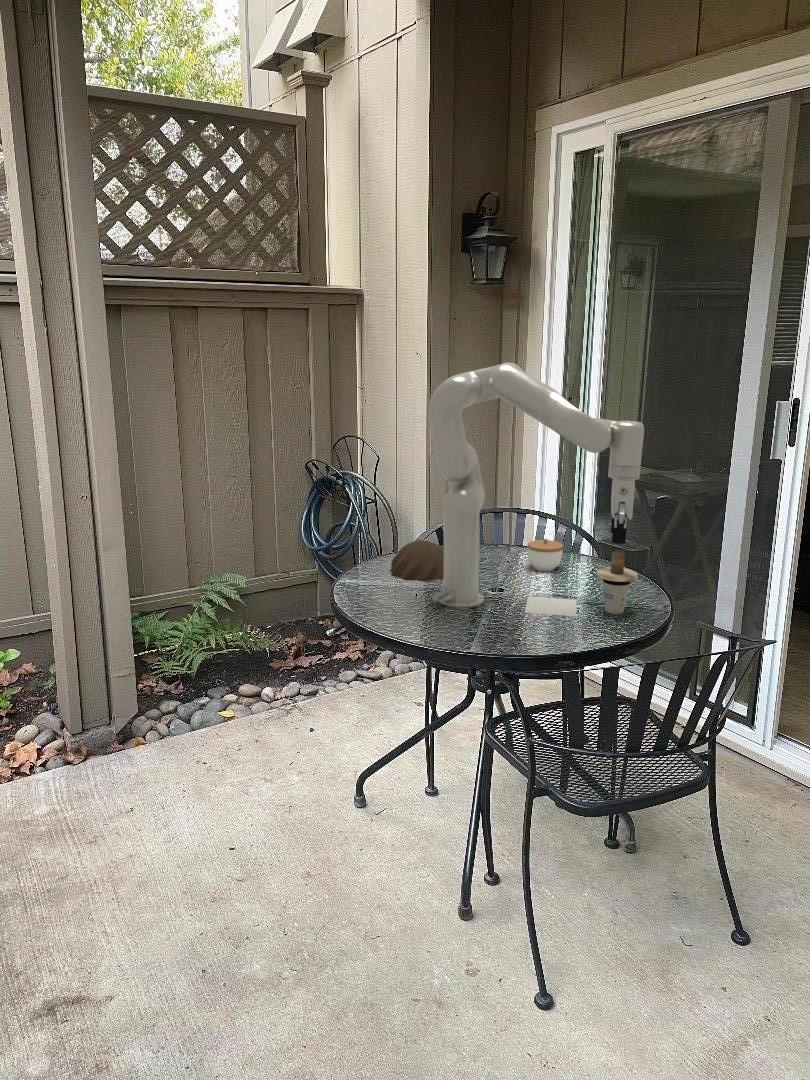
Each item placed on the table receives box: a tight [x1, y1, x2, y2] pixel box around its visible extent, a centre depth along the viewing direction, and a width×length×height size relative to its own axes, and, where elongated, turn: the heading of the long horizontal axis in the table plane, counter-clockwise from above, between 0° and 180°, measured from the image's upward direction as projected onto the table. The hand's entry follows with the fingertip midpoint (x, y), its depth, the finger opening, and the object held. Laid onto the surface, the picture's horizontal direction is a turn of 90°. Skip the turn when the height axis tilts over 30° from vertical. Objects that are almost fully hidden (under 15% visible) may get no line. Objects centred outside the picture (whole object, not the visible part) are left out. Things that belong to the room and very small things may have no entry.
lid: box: [596, 551, 638, 582], centre depth 199 cm, size 10×10×6 cm
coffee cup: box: [602, 579, 631, 615], centre depth 201 cm, size 7×7×10 cm
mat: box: [524, 596, 578, 617], centre depth 205 cm, size 13×13×1 cm
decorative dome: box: [390, 539, 444, 582], centre depth 235 cm, size 19×20×10 cm
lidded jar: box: [527, 538, 564, 572], centre depth 239 cm, size 11×11×9 cm
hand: (617, 538), depth 197 cm, fingers open, 9 cm apart
